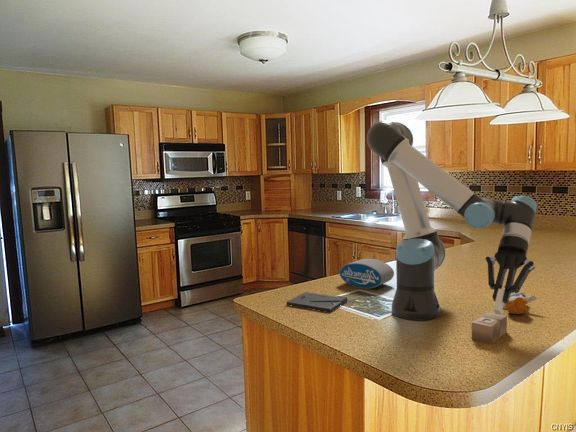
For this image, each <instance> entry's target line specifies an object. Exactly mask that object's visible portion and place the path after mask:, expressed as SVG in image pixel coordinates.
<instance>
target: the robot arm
mask: <svg viewBox="0 0 576 432" xmlns="http://www.w3.org/2000/svg"><path fill="white" fill-rule="evenodd" d="M366 142H367V145H368V147H369V149H370V150H371V151H372V152H373V153H374V154H375V155H377V156H379V158H380V162H381V165H382V166H384V167H386V168H387V171H388V173H389V177H390V181H391V184H392V188H393V192H394V194H395V195H394V196H395V199H396V202H397V206H398V210H399V213H400V215H401V219H402V224H403V227H404V230H405V231H404V232H405V233H404V235H403V237H402V240H401V241H400V242H398V244H397V245H396V251H395V260H396V263H395V264H396V265H395V266H396V268H395V269H396V270H395V271H396V290H395V294H394V297H393V299H392V302H391V312H392V314H393V315H394V316H396V317H398V318H400V319H405V320H412V321H428V320H433V319H436V318H438V317H440V315H441V306H440V303H439V300H438V297H437V295H436V291H435V271H436V269H438V268H439V267H441V266H442V264H443V263H444V261H445V257H446V248H445V247H446V246H445V244H444V243H443V242H442V241H441V240H440V238H439V235H438V231H437V229H435V228H434V227H432V226H431V222H430V220H429V217H428V213H427V209H426V206H425V202H424V199H423V195H422V192H421V187H420V185H422V186H423V188H425V189H426V190H428V191H429V192H430V193H432V194H433V195H434V196H435V197H437V198H438V199H439V200H441V201H442V202H443V203H445V204H446V205H447V206H449V207H450V208H452V210H453V211H455V212H456V213H457V214H459V215H460V216H461V217H462V218H464V221H465V222H466V224H467V225H468V226H470V227H471V228H474V229H484V228H487V227H488V226H491V224H495V225H496V224H497V225H501V226H503V230H502V232H501V237H500V241H499V245H498V248H497V251H496V252H495V253H494V255H493V256H491V257H490V256H486V257H485V261H486V264H487V275H488V277H487V278H488V279H487V281H488V286H489V288H490V290H493V294H492V300H493V302H494V305H493V312H494V313H495V314H500V315H503V310H504V308H503V305H504V303H508V301H509V297H510V295H511V294H519V293H520V290H521V288H522V286H523V285H524V283H525V281H526V280H527V278H528V276H529V274H530V273H531V272H532V271H533V270H535V268H536V267H535V264H534V261H532V260H528V258H527V257H528V256H527V254H528V249H529V245H530V241H531V237H532V232H533V228H534V223H535V220H536V216H537V215H536V214H537V208H538V207H537V206H538V205H537V202H536V201H535V199H533V198H532V197H530V196H527V195H520V196H518V195H516V196H514V197H513V198H511V200H510V201H507V200H498V199H492V198H487V197H483V196H479V195H477V194H476V193H475V192H474V191H472V189H470V188H469V187H467V186H466V185H464V184H463V183H462V182H461V181H460V180H458V179H456V178H455V177H454V176H453V175H452V174H450V173H449V172H447V171H446V170H445V169H443V168H442V167H441V166H439V165H438V164H436V163H435V162H434V161H433V160H431V159H430V158H428V157H427V156H426V155H425V154H423V153H421V152H420V151H419V150H418V149H416V148H415V147H414V145H413V143H414V136H413V133H412V131H411V129H410V128H409V127H407V125H405V124H403V123H401V122H396V121H392V120H385V119H384V120H379V121H376V122H375V123H373V124H372V125H371V127H369V130H368V131H367V134H366ZM496 262H497V263H498V266H499V269H498V273H497V275H496V276H497V277H496V281H495V267H494V265H495V264H496ZM522 266H523V267H522ZM521 267H522V268H521ZM519 268H521V271H520V272H519V274H518V276H517V277H516V274H517V270H518V269H519ZM507 271H508V273H507ZM506 273H507V276H506ZM505 277H506V282H505V285H504V281H505ZM515 277H516V279H515ZM503 285H504V286H503ZM503 287H504V288H503Z"/></svg>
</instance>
